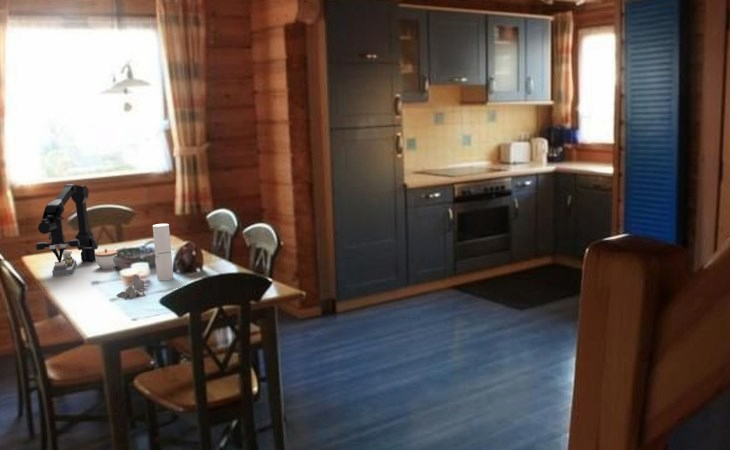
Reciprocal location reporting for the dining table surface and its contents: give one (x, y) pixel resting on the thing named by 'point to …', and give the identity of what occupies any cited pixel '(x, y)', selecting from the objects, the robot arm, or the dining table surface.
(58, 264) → the knob
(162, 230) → the cylindrical container
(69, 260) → the metal knob
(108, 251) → the lidded jar
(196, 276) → the dining table surface
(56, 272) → the mount
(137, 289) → the grey lumpy piece
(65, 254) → the white round cap
